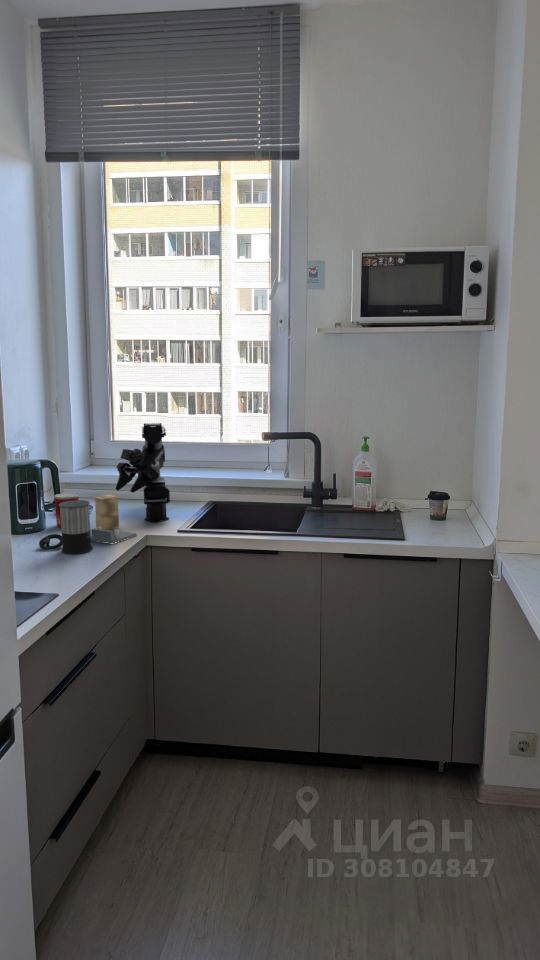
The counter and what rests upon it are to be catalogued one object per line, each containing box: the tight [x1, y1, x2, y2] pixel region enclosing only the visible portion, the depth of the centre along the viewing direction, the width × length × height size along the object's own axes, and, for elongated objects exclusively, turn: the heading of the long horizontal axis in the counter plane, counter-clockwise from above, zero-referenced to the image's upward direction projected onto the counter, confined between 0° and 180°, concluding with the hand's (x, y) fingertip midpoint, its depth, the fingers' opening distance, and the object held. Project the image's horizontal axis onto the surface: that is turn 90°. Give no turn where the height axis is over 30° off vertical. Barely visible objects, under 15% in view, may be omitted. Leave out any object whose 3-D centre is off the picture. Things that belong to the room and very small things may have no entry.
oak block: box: [94, 493, 120, 531], centre depth 249 cm, size 6×4×12 cm
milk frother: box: [38, 499, 94, 555], centre depth 228 cm, size 14×16×15 cm
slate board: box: [91, 526, 137, 543], centre depth 241 cm, size 12×9×4 cm
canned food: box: [54, 492, 79, 529], centre depth 258 cm, size 8×8×11 cm
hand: (123, 490), depth 252 cm, fingers open, 9 cm apart
